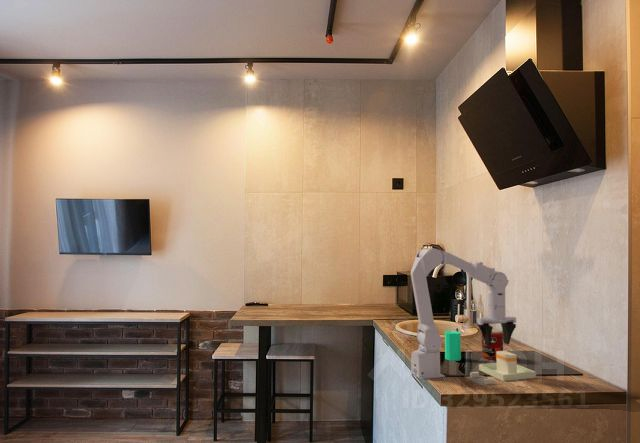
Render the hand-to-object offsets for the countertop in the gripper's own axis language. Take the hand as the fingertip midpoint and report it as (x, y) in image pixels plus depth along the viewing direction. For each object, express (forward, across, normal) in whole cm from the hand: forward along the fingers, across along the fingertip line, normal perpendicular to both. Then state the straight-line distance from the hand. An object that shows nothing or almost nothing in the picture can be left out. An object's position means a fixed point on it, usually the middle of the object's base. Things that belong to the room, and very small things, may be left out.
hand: (497, 344), depth 156 cm
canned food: (+10, +12, +19) cm, 25 cm away
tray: (+10, +2, -2) cm, 11 cm away
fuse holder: (+10, -11, -6) cm, 16 cm away
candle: (+11, -4, +22) cm, 25 cm away
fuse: (+10, +2, -2) cm, 10 cm away
